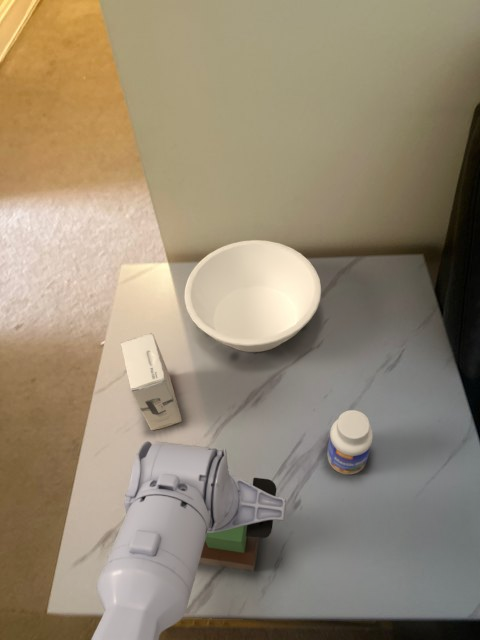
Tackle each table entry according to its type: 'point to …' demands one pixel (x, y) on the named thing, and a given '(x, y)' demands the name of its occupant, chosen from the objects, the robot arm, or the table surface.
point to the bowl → (253, 294)
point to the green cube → (228, 539)
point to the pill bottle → (349, 442)
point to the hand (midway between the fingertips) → (223, 506)
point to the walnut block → (232, 556)
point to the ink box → (150, 381)
